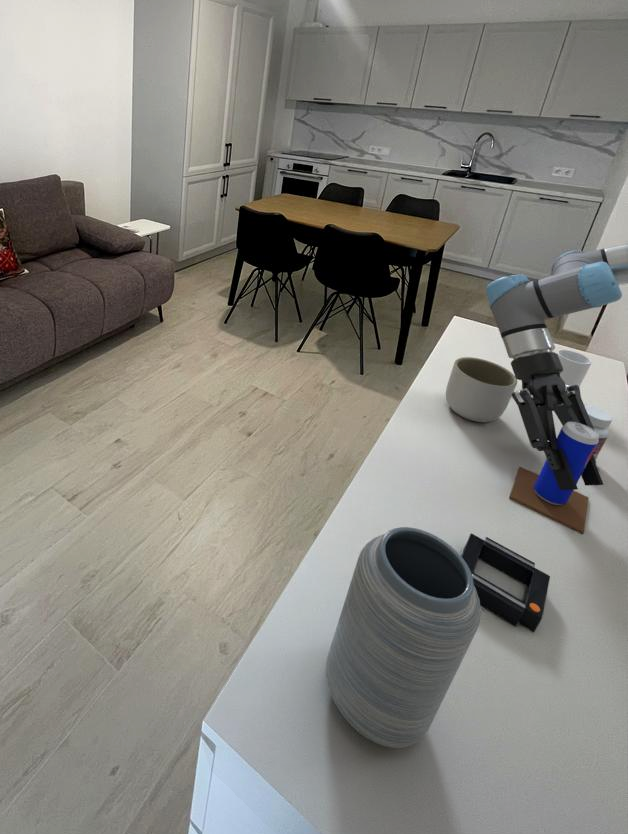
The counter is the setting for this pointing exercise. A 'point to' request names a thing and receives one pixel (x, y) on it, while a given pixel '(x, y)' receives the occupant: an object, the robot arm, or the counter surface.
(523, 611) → the frame
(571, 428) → the beverage can
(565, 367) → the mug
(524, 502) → the cork mat
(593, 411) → the pill bottle
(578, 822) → the counter surface
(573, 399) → the robot arm
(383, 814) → the counter surface
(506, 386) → the planter
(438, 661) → the vase
